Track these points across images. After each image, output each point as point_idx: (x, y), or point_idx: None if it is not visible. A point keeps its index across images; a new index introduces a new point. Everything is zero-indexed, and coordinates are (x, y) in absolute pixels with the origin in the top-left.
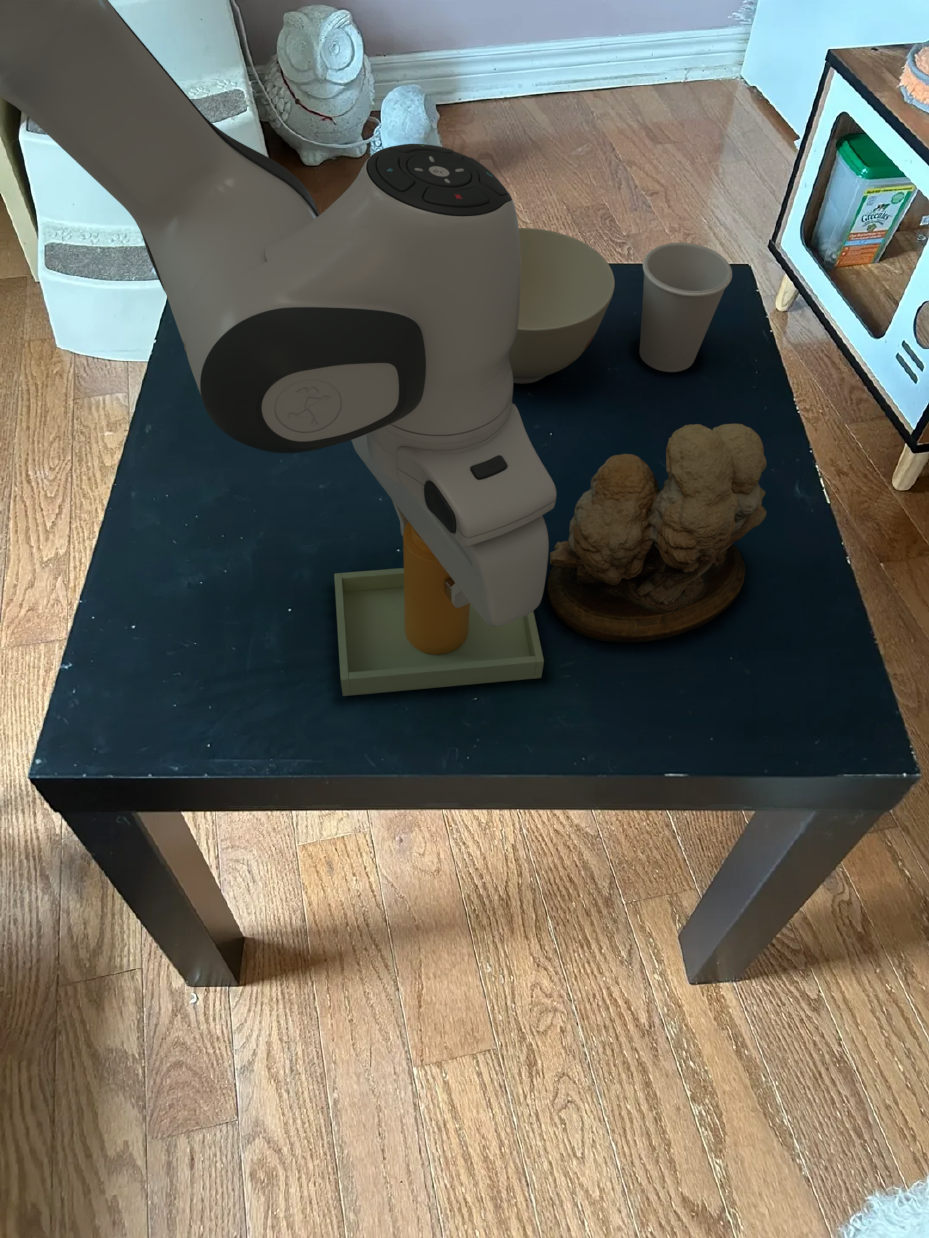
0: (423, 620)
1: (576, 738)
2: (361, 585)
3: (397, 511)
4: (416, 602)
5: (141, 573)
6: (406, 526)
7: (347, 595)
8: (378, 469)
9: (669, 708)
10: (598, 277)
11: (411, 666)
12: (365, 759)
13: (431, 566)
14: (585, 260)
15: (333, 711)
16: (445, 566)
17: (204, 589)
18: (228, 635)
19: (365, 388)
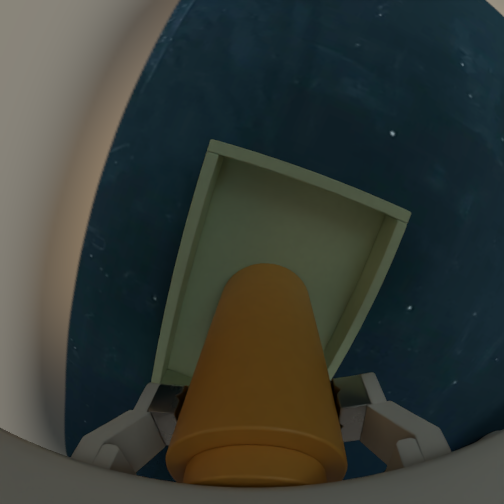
0: (225, 307)
1: (92, 355)
2: (379, 241)
3: (401, 417)
4: (230, 322)
5: (483, 26)
6: (326, 444)
7: (378, 216)
8: (496, 490)
9: (110, 420)
10: None
11: (220, 248)
12: (122, 142)
13: (177, 430)
14: None
15: (202, 123)
16: (64, 476)
17: (453, 61)
18: (380, 48)
19: None
